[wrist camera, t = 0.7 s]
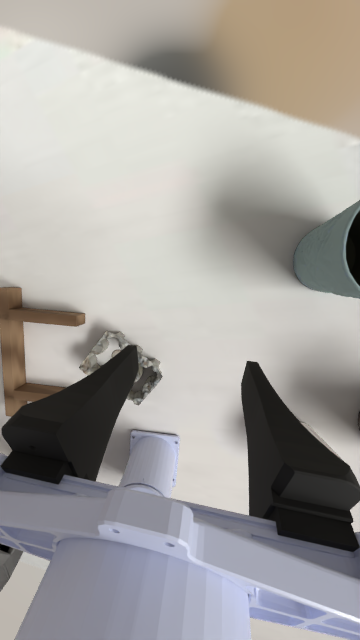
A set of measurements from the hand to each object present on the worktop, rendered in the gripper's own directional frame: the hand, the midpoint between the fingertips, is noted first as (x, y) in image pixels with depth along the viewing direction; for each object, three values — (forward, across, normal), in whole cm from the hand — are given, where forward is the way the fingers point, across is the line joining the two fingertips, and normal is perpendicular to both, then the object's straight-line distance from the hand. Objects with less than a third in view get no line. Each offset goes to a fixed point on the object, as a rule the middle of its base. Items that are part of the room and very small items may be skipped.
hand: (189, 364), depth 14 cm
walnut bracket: (+12, +23, +13) cm, 29 cm away
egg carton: (+14, +11, +14) cm, 22 cm away
